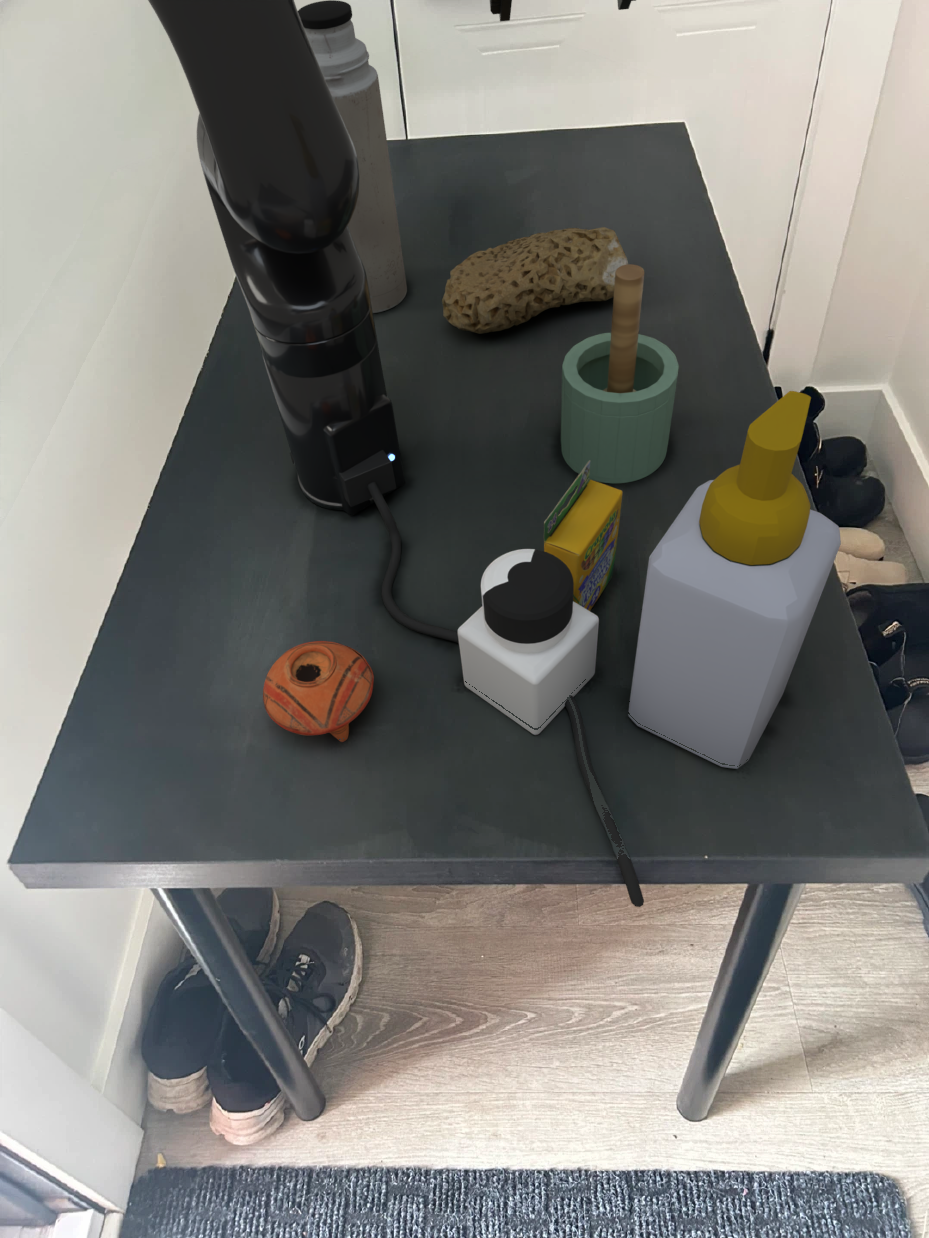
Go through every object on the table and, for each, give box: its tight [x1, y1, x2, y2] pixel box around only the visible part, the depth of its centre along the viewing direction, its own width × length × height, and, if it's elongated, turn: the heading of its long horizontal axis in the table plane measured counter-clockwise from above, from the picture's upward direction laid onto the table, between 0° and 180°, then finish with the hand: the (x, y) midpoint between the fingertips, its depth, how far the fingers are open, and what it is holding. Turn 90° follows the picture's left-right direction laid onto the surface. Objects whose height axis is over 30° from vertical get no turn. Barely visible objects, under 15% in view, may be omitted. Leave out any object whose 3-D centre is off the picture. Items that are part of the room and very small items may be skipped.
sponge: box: [441, 226, 629, 335], centre depth 93 cm, size 13×8×20 cm
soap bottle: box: [627, 390, 842, 770], centre depth 54 cm, size 9×9×25 cm
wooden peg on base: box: [603, 263, 645, 393], centre depth 74 cm, size 4×4×17 cm
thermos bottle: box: [297, 0, 408, 314], centre depth 89 cm, size 8×8×28 cm
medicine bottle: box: [457, 548, 600, 736], centre depth 62 cm, size 7×7×12 cm
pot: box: [262, 640, 375, 743], centre depth 64 cm, size 8×8×7 cm
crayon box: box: [543, 460, 624, 612], centre depth 66 cm, size 7×3×12 cm, turn 149°
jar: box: [560, 332, 680, 484], centre depth 78 cm, size 10×10×9 cm
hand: (562, 2), depth 63 cm, fingers open, 8 cm apart
